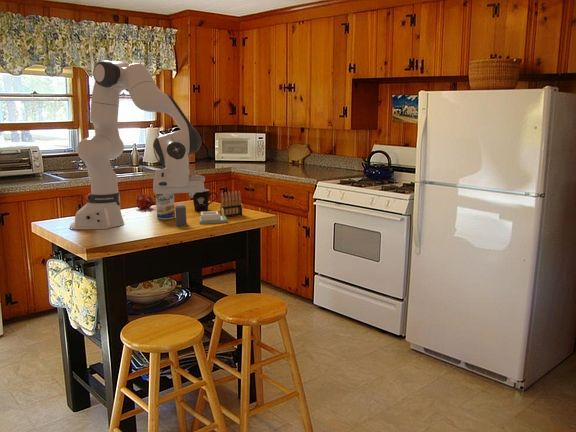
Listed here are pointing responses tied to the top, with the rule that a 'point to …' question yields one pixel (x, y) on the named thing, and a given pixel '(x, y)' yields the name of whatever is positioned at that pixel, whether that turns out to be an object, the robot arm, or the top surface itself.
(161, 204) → the blue and white bottle
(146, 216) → the top surface
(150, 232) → the top surface
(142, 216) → the top surface
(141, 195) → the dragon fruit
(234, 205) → the ammunition clip
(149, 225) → the top surface
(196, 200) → the coffee mug
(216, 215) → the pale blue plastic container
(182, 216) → the plug
